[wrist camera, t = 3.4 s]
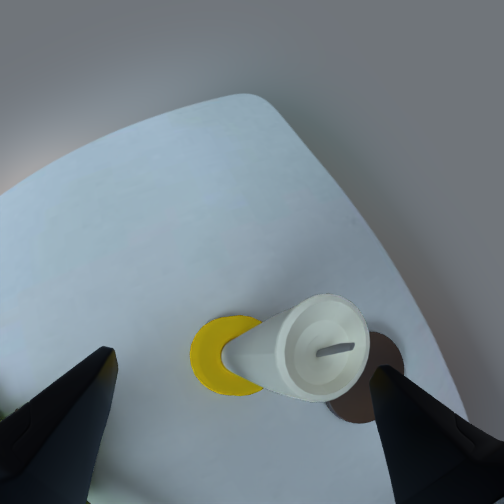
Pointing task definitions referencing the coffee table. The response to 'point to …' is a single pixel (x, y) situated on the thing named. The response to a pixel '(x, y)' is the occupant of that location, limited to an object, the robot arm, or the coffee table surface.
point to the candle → (285, 351)
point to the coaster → (367, 381)
